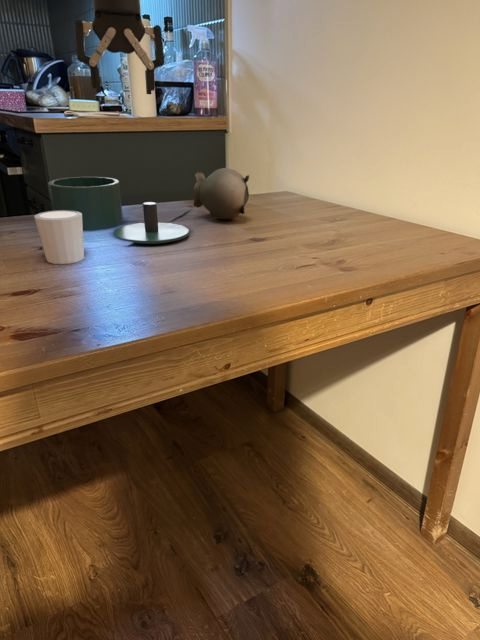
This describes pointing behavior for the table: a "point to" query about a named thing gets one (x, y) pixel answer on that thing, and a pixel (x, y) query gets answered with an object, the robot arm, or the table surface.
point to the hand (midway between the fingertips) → (124, 93)
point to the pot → (89, 200)
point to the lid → (151, 229)
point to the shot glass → (61, 236)
